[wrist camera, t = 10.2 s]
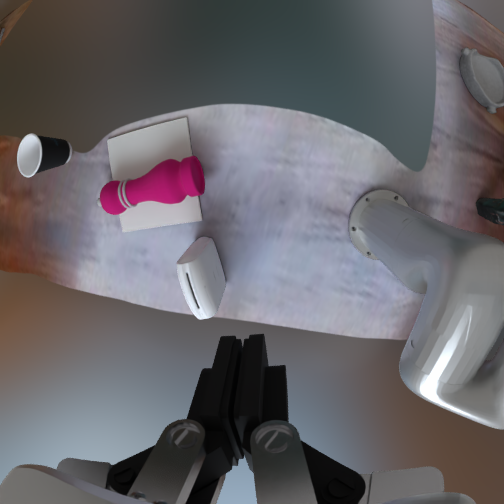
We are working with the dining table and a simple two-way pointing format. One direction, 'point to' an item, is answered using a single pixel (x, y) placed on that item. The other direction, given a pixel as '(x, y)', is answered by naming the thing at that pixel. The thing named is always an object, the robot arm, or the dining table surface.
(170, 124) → the mat
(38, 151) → the dixie cup
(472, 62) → the dish
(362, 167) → the dining table surface
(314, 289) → the dining table surface
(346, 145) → the dining table surface
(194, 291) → the photo printer
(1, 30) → the architectural model tower
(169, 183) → the pepper mill
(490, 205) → the ceramic cat
